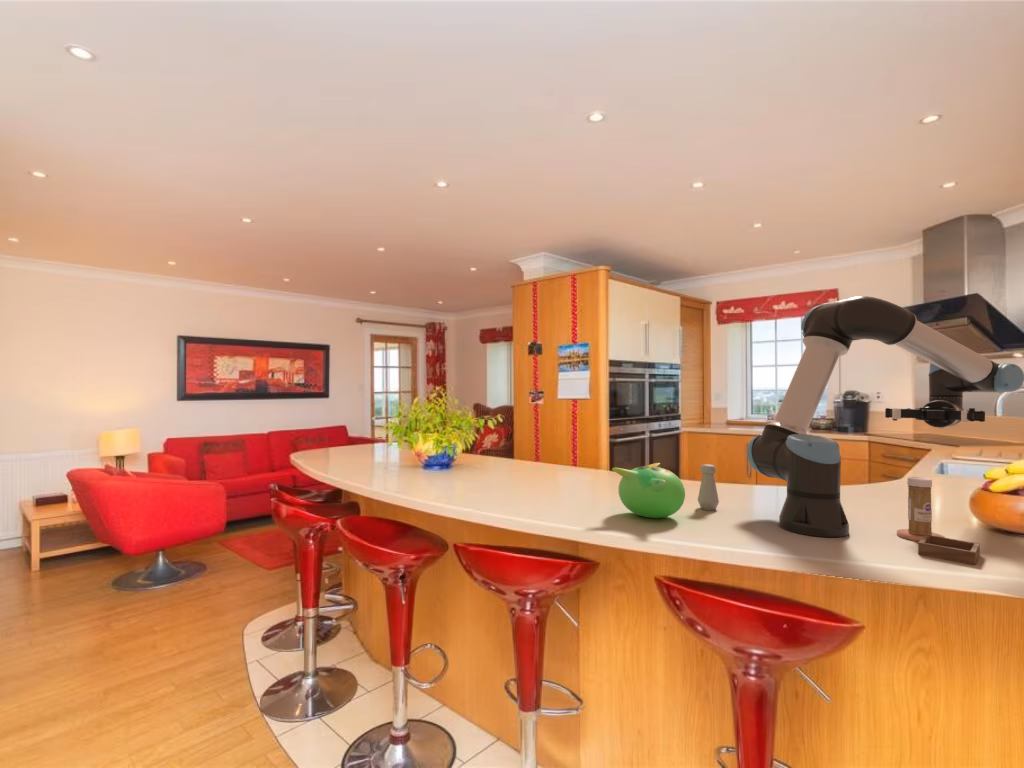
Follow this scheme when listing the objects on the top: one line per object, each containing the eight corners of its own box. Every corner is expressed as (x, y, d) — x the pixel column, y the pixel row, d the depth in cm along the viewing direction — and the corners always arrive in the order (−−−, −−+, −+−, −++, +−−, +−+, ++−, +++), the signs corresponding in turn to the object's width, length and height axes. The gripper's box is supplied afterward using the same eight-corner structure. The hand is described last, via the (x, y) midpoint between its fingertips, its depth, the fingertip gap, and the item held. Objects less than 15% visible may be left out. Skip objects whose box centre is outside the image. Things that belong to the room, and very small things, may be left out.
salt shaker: (720, 511, 145) (720, 466, 145) (699, 510, 146) (699, 465, 146) (716, 506, 151) (716, 463, 151) (696, 506, 152) (696, 463, 152)
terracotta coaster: (913, 542, 116) (913, 539, 116) (888, 531, 125) (888, 528, 125) (955, 543, 115) (955, 540, 115) (926, 532, 124) (926, 529, 124)
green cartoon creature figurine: (694, 517, 139) (694, 463, 139) (667, 529, 126) (667, 470, 126) (635, 506, 151) (635, 457, 151) (605, 517, 138) (605, 463, 138)
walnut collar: (975, 565, 101) (975, 552, 101) (918, 554, 107) (918, 542, 107) (979, 555, 107) (979, 543, 107) (925, 545, 113) (925, 534, 113)
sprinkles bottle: (925, 537, 117) (924, 479, 117) (903, 532, 121) (903, 476, 121) (936, 535, 119) (936, 478, 119) (914, 530, 123) (914, 475, 123)
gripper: (1002, 430, 132) (995, 433, 117) (885, 424, 150) (868, 426, 136) (1002, 401, 132) (995, 401, 118) (886, 399, 150) (868, 399, 136)
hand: (927, 415), depth 127 cm, fingers open, 13 cm apart
